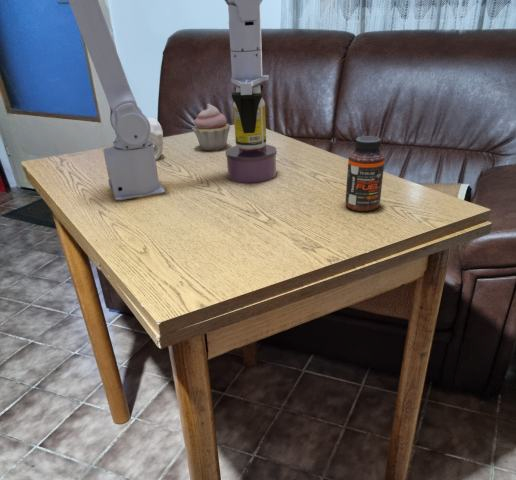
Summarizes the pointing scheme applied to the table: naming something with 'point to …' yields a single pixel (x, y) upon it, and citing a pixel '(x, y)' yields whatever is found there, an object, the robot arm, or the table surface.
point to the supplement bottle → (365, 174)
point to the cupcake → (211, 129)
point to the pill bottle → (259, 137)
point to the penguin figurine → (156, 136)
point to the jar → (251, 164)
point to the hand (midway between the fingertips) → (249, 128)
